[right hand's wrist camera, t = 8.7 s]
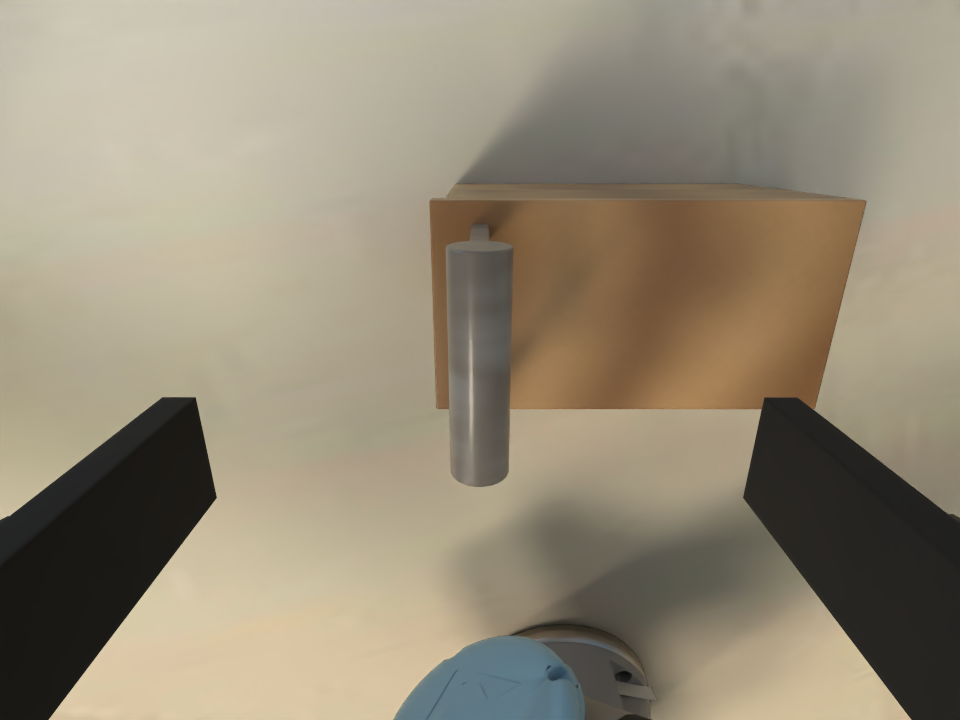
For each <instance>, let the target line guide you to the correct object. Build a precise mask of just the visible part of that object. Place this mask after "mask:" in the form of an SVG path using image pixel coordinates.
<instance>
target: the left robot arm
mask: <svg viewBox="0 0 960 720" xmlns="http://www.w3.org/2000/svg"><path fill="white" fill-rule="evenodd" d="M650 700H654V701H656V699H655V696H654V693H653V689H652V687H648V684H647V681H646V678H645V675H644V671H643V669H642V666H641V664H640V662H639V660H638V658H637V657H636V655H635V654H634V653H633V652H632V651H631V649H630V648H628V647H627V646H626V645H625V644H624V643H622V642H621V641H620V640H618V639H616V638H615V637H613V636H611V635H609V634H607V633H605V632H602V631H599V630H596V629H592V628H588V627H583V626H576V625H551V626H543V627H538V628H534V629H530V630H527V631H524V632H521V633H519V634H516V635H514V636H498V637H492V638H488V639H485V640H481V641H479V642H476V643H473V644H471V645H469V646H467V647H465V648H463V649H462V650H461V651H460V652H459V653H458V654H456V655H455V656H454V657H452V658H450V659H447V660H444V661H443V662H441V663H440V664H439V665H438V666H437V667H435V668H434V669H433V670H432V671H431V672H430V673H429V674H428V675H427V676H426V677H425V678H424V679H423V680H422V681H421V682H420V683H419V684H418V685H417V686H416V687H415V689H414V690H413V691H412V692H411V693H410V695H409V696H408V697H407V699H406V700H405V702H404V703H403V704H402V706H401V707H400V709H399V711H398V712H397V714H396V716H395V717H394V719H393V720H651V719H650V711H651V703H650Z"/></svg>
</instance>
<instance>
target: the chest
mask: <svg viewBox="0 0 960 720" xmlns="http://www.w3.org/2000/svg"><path fill="white" fill-rule="evenodd" d="M446 198H844V197H836V196H829V195H821V194H813V193H805V192H798V191H790V190H782V189H774V188H767V187H759V186H751V185H743V184H455V186H454V187H453V188H452V190H451V191H450V192H449V194H448V195H447V196H446Z"/></svg>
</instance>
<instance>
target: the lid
mask: <svg viewBox="0 0 960 720" xmlns="http://www.w3.org/2000/svg"><path fill="white" fill-rule="evenodd" d="M865 205H866V201H865V200H859V199H852V198H433V199H431V200H430V229H431V260H432V290H433V321H434V352H435V383H436V408H437V409H449V413H450V457H451V473H452V475H453V477H454V478H455V479H456V480H457V481H459V482H460V483H463V484H465V485H469V486H475V487H484V486H491V485H494V484H497V483H499V482H501V481H502V480H504V479H505V477H506V476H507V474H508V472H509V432H510V409H762V406H763V402H764V397H798V398H799V399H800V400H802V401H803V402H804V403H805V404H807V405H808V406H809V407H811V408H812V409H815V406H816V402H817V398H818V394H819V390H820V386H821V382H822V378H823V374H824V370H825V366H826V362H827V358H828V354H829V350H830V346H831V342H832V338H833V334H834V330H835V326H836V322H837V318H838V314H839V310H840V306H841V302H842V298H843V294H844V290H845V286H846V282H847V278H848V274H849V270H850V266H851V262H852V258H853V254H854V250H855V246H856V242H857V238H858V234H859V230H860V225H861V221H862V217H863V213H864V209H865Z"/></svg>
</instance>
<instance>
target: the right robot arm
mask: <svg viewBox="0 0 960 720" xmlns="http://www.w3.org/2000/svg"><path fill="white" fill-rule="evenodd" d="M216 498H217V497H216V492H215V487H214V482H213V478H212V473H211V468H210V463H209V459H208V454H207V449H206V444H205V440H204V435H203V430H202V425H201V421H200V416H199V411H198V406H197V402H196V397H162V398H161V399H160V400H158V401H157V402H156V403H155V404H153V405H152V406H151V407H149V408H148V409H147V410H146V411H144V412H143V413H142V414H140V415H139V416H138V417H137V418H135V419H134V420H133V421H131V422H130V423H129V424H128V425H126V426H125V427H124V428H122V429H121V430H120V431H119V432H117V433H116V434H115V435H113V436H112V437H111V438H110V439H108V440H107V441H106V442H104V443H103V444H102V445H101V446H99V447H98V448H97V449H95V450H94V451H93V452H92V453H90V454H89V455H88V456H86V457H85V458H84V459H83V460H81V461H80V462H79V463H77V464H76V465H75V466H74V467H72V468H71V469H70V470H68V471H67V472H66V473H65V474H63V475H62V476H61V477H59V478H58V479H57V480H56V481H54V482H53V483H52V484H50V485H49V486H48V487H47V488H45V489H44V490H43V491H41V492H40V493H39V494H38V495H36V496H35V497H34V498H32V499H31V500H30V501H29V502H27V503H26V504H25V505H23V506H22V507H21V508H20V509H18V510H17V511H16V512H14V513H13V514H12V515H11V516H7V517H5V518H3V519H1V520H0V720H49V718H50V717H51V716H52V714H53V713H54V712H55V710H56V709H57V708H58V706H59V705H60V704H61V702H62V701H63V700H64V699H65V697H66V696H67V695H68V693H69V692H70V691H71V689H72V688H73V687H74V685H75V684H76V683H77V681H78V680H79V679H80V677H81V676H82V675H83V673H84V672H85V671H86V669H87V668H88V667H89V666H90V664H91V663H92V662H93V660H94V659H95V658H96V656H97V655H98V654H99V652H100V651H101V650H102V648H103V647H104V646H105V644H106V643H107V642H108V640H109V639H110V638H111V637H112V635H113V634H114V633H115V631H116V630H117V629H118V627H119V626H120V625H121V623H122V622H123V621H124V619H125V618H126V617H127V615H128V614H129V613H130V611H131V610H132V609H133V608H134V606H135V605H136V604H137V602H138V601H139V600H140V598H141V597H142V596H143V594H144V593H145V592H146V590H147V589H148V588H149V586H150V585H151V584H152V582H153V581H154V580H155V579H156V577H157V576H158V575H159V573H160V572H161V571H162V569H163V568H164V567H165V565H166V564H167V563H168V561H169V560H170V559H171V557H172V556H173V555H174V553H175V552H176V551H177V549H178V548H179V547H180V546H181V544H182V543H183V542H184V540H185V539H186V538H187V536H188V535H189V534H190V532H191V531H192V530H193V528H194V527H195V526H196V524H197V523H198V522H199V520H200V519H201V518H202V517H203V515H204V514H205V513H206V511H207V510H208V509H209V507H210V506H211V505H212V503H213V502H214V501H215V499H216ZM743 498H744V499H745V501H746V502H747V503H748V505H749V506H750V507H751V509H752V510H753V511H754V513H755V514H756V515H757V517H758V518H759V519H760V520H761V522H762V523H763V524H764V526H765V527H766V528H767V530H768V531H769V532H770V534H771V535H772V536H773V538H774V539H775V540H776V542H777V543H778V544H779V546H780V547H781V548H782V549H783V551H784V552H785V553H786V555H787V556H788V557H789V559H790V560H791V561H792V563H793V564H794V565H795V567H796V568H797V569H798V571H799V572H800V573H801V575H802V576H803V577H804V579H805V580H806V581H807V582H808V584H809V585H810V586H811V588H812V589H813V590H814V592H815V593H816V594H817V596H818V597H819V598H820V600H821V601H822V602H823V604H824V605H825V606H826V608H827V609H828V610H829V611H830V613H831V614H832V615H833V617H834V618H835V619H836V621H837V622H838V623H839V625H840V626H841V627H842V629H843V630H844V631H845V633H846V634H847V635H848V637H849V638H850V639H851V640H852V642H853V643H854V644H855V646H856V647H857V648H858V650H859V651H860V652H861V654H862V655H863V656H864V658H865V659H866V660H867V662H868V663H869V664H870V666H871V667H872V668H873V669H874V671H875V672H876V673H877V675H878V676H879V677H880V679H881V680H882V681H883V683H884V684H885V685H886V687H887V688H888V689H889V691H890V692H891V693H892V695H893V696H894V697H895V699H896V700H897V701H898V702H899V704H900V705H901V706H902V708H903V709H904V710H905V712H906V713H907V714H908V716H909V717H910V718H911V720H960V518H959V517H957V516H955V515H953V514H947V513H946V512H944V511H943V510H942V509H940V508H939V507H938V506H937V505H935V504H934V503H933V502H931V501H930V500H929V499H928V498H926V497H925V496H924V495H922V494H921V493H920V492H919V491H917V490H916V489H915V488H913V487H912V486H911V485H910V484H908V483H907V482H906V481H904V480H903V479H902V478H901V477H899V476H898V475H897V474H895V473H894V472H893V471H892V470H890V469H889V468H888V467H886V466H885V465H884V464H883V463H881V462H880V461H879V460H877V459H876V458H875V457H874V456H872V455H871V454H870V453H868V452H867V451H866V450H865V449H863V448H862V447H861V446H859V445H858V444H857V443H856V442H854V441H853V440H852V439H850V438H849V437H848V436H847V435H845V434H844V433H843V432H841V431H840V430H839V429H838V428H836V427H835V426H834V425H832V424H831V423H830V422H829V421H827V420H826V419H825V418H823V417H822V416H821V415H820V414H818V413H817V412H816V411H814V410H813V409H812V408H811V407H809V406H808V405H807V404H805V403H804V402H803V401H802V400H800V399H799V398H798V397H764V402H763V406H762V411H761V416H760V421H759V425H758V430H757V435H756V440H755V444H754V449H753V454H752V459H751V463H750V468H749V473H748V478H747V482H746V487H745V492H744V497H743Z"/></svg>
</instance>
